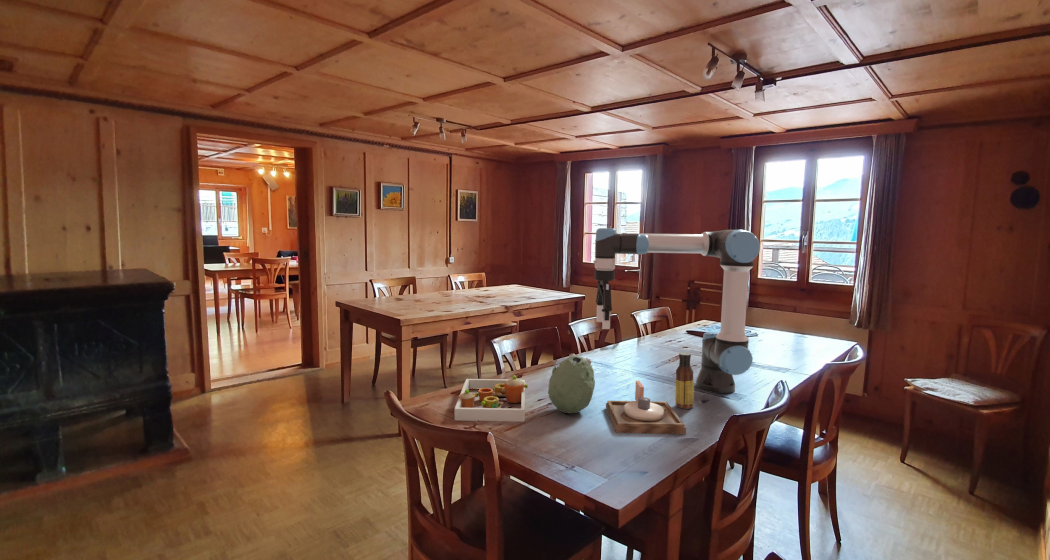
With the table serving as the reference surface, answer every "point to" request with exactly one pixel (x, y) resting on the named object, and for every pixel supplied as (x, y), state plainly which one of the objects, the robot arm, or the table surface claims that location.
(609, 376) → the table surface
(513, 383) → the toy tea set
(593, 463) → the table surface
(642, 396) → the dial
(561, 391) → the green monster figurine
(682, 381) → the sauce bottle
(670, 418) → the brown wooden tray
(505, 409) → the tea tray rim
